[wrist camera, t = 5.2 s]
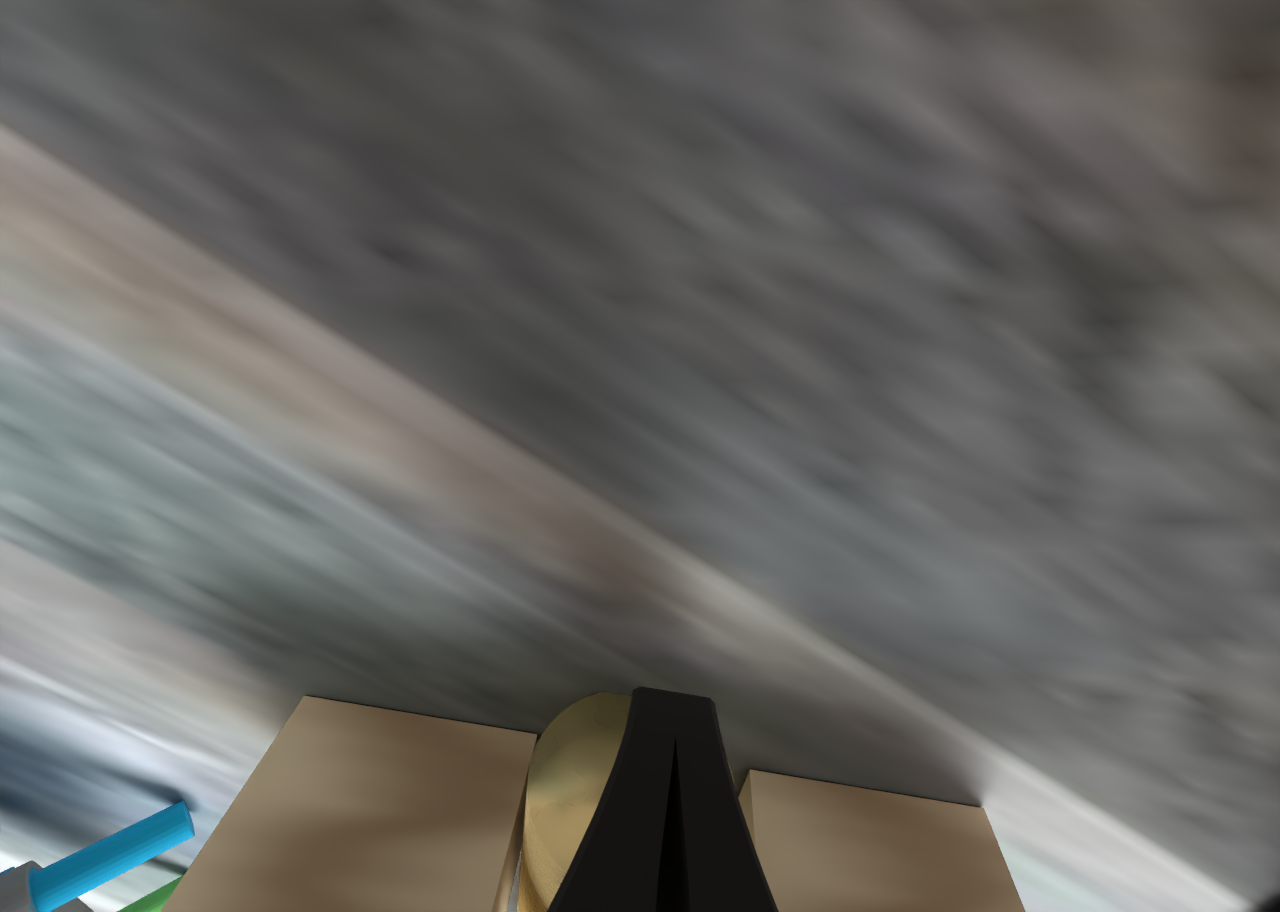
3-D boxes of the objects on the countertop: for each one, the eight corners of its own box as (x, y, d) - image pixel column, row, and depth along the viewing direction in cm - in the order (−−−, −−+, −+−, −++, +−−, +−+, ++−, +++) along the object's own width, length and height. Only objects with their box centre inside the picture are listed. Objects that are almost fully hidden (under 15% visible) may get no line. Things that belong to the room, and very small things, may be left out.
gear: (-252, 682, 13) (-378, 1320, 8) (108, 579, 16) (186, 969, 11) (-22, 854, 20) (-8, 1250, 15) (196, 756, 23) (269, 1047, 18)
